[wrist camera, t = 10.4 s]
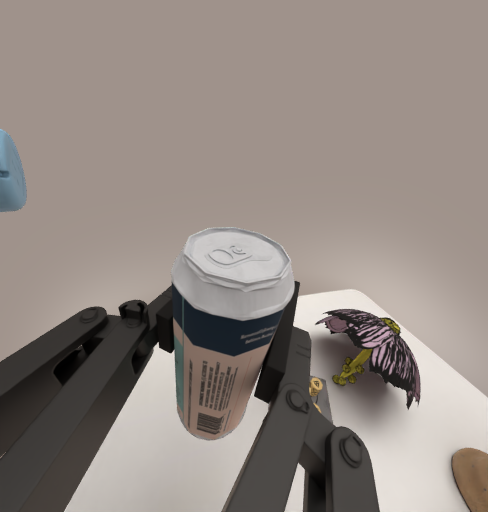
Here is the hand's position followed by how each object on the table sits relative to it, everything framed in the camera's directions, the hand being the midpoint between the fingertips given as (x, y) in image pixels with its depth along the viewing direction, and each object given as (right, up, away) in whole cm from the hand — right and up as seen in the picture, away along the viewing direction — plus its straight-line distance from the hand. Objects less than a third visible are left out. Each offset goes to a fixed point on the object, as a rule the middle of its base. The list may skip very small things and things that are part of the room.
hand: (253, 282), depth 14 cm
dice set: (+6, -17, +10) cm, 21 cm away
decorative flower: (+16, -16, +15) cm, 27 cm away
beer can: (-3, -8, -1) cm, 9 cm away
